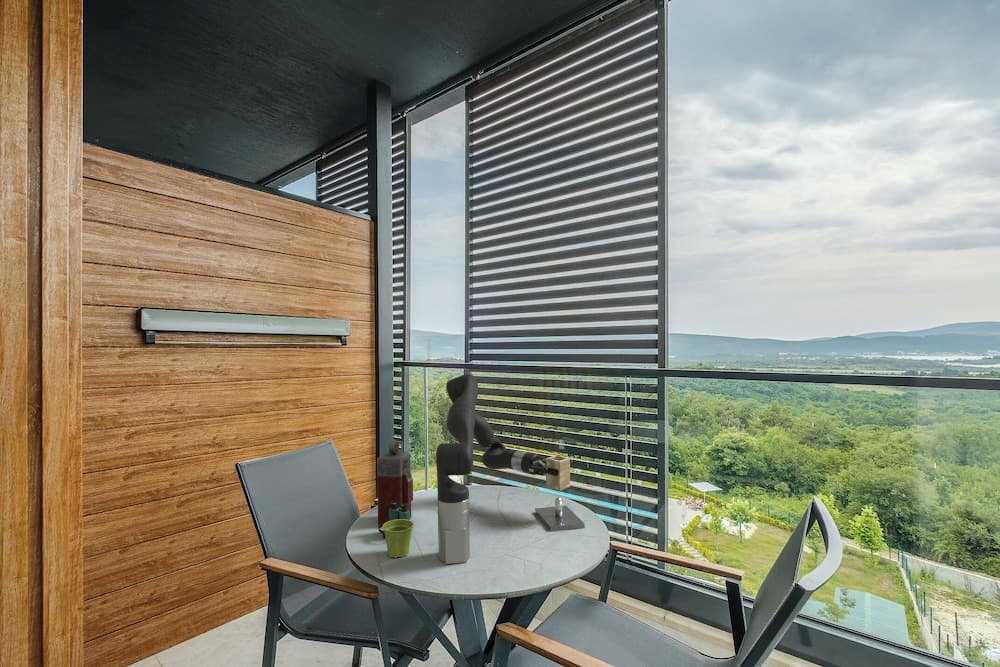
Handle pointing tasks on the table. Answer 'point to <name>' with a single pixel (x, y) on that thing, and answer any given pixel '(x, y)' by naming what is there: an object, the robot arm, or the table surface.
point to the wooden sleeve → (564, 472)
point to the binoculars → (396, 514)
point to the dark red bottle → (393, 481)
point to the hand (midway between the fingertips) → (563, 470)
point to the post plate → (559, 517)
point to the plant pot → (398, 536)
